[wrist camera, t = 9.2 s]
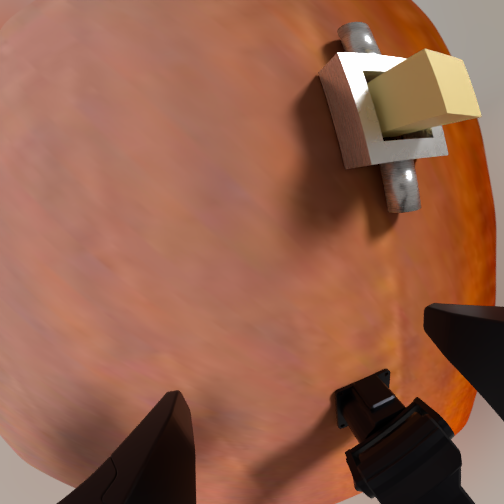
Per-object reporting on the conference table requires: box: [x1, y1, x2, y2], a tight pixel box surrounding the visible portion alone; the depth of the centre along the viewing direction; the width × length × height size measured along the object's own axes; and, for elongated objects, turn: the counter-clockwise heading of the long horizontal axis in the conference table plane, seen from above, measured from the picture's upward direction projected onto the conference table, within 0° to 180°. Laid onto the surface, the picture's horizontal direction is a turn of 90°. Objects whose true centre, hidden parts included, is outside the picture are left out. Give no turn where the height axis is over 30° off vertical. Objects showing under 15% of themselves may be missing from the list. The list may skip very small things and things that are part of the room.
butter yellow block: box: [367, 49, 481, 137], centre depth 15 cm, size 4×4×10 cm
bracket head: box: [318, 22, 448, 213], centre depth 18 cm, size 16×8×4 cm, turn 14°
